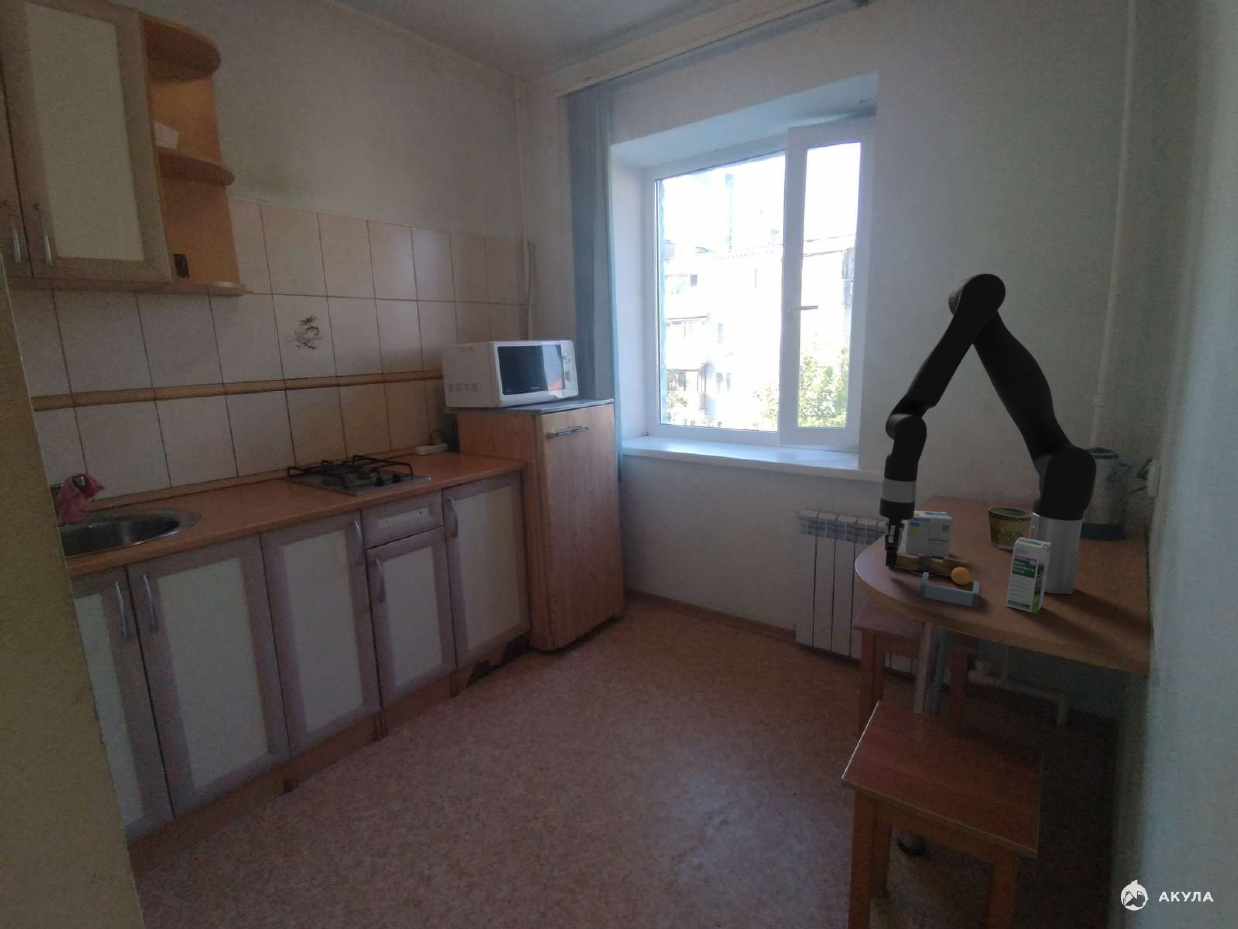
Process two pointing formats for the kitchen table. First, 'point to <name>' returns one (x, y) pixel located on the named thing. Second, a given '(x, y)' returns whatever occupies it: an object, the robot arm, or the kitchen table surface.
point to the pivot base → (922, 573)
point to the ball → (961, 575)
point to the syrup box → (1028, 574)
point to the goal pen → (949, 593)
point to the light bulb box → (927, 533)
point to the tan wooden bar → (929, 563)
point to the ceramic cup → (1007, 525)
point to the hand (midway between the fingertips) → (890, 565)
